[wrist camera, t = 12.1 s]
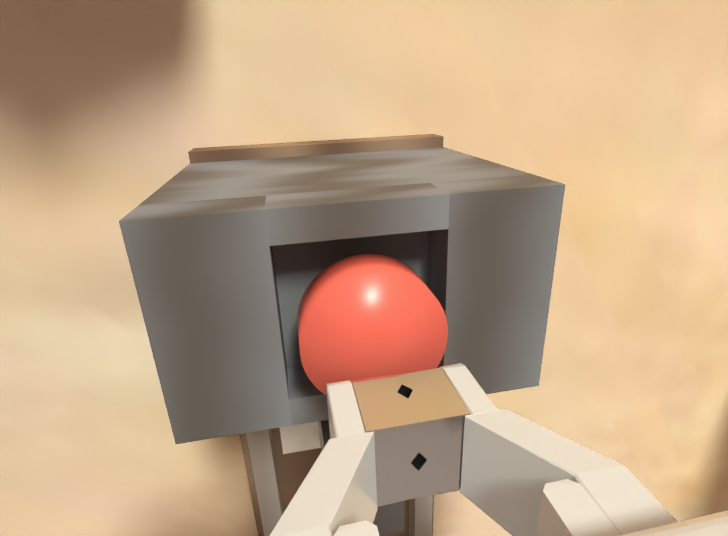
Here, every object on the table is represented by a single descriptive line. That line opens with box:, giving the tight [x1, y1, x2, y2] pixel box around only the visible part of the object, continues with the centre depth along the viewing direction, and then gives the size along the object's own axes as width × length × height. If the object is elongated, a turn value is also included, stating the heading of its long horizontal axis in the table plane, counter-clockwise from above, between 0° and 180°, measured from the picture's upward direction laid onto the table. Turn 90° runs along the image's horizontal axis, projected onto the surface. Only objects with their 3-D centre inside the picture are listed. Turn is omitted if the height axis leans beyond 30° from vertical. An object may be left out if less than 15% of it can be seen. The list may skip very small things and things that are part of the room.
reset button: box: [297, 254, 448, 396], centre depth 12 cm, size 4×4×2 cm
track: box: [119, 134, 565, 536], centre depth 23 cm, size 12×31×12 cm, turn 3°
